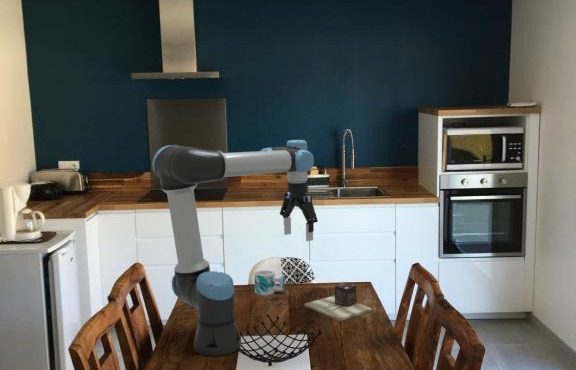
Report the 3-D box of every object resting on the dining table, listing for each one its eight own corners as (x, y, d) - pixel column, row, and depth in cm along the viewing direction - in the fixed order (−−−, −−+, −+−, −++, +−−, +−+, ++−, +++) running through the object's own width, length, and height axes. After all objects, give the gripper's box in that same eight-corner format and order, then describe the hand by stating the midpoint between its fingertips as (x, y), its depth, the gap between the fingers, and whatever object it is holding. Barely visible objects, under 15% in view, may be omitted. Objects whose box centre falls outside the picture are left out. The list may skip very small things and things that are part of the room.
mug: (259, 288, 252) (258, 269, 251) (286, 290, 248) (286, 270, 247) (252, 294, 244) (252, 274, 243) (280, 296, 241) (280, 276, 239)
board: (339, 321, 213) (339, 318, 213) (304, 306, 229) (304, 303, 229) (371, 311, 223) (371, 308, 222) (336, 297, 239) (336, 294, 238)
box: (343, 300, 232) (343, 281, 231) (356, 303, 228) (356, 284, 227) (334, 304, 228) (334, 285, 227) (347, 307, 224) (347, 288, 223)
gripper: (326, 184, 216) (327, 241, 219) (285, 177, 235) (286, 230, 239) (310, 186, 211) (311, 245, 214) (270, 179, 231) (271, 233, 234)
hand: (298, 237), depth 226 cm, fingers open, 13 cm apart
